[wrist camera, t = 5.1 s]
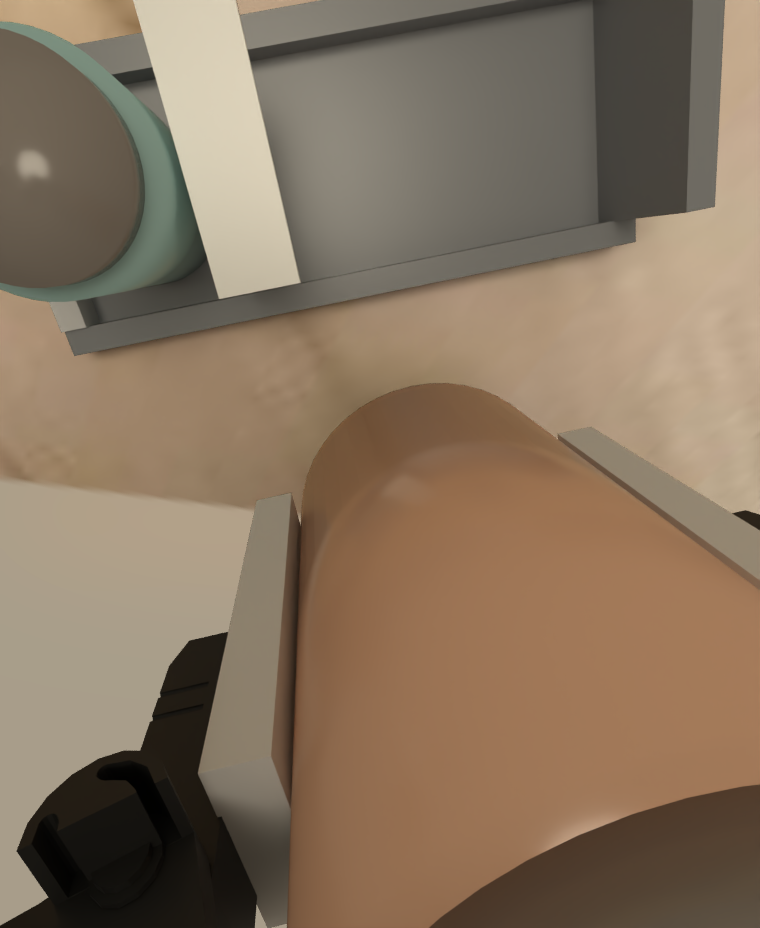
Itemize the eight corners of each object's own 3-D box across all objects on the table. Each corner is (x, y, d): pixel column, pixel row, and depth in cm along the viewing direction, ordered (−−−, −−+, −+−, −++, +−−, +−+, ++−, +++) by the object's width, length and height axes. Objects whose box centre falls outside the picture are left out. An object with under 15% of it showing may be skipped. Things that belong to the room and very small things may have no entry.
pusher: (248, 285, 23) (219, 299, 16) (193, 78, 20) (127, -20, 13) (304, 274, 23) (300, 282, 16) (257, 66, 20) (227, -37, 13)
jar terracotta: (332, 640, 13) (382, 1484, 4) (271, 416, 11) (89, 1180, 2) (562, 587, 14) (1080, 1272, 4) (547, 357, 11) (1534, 784, 2)
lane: (91, 348, 24) (13, 381, 17) (-13, 81, 20) (-158, 4, 14) (613, 242, 25) (713, 238, 18) (609, -32, 21) (732, -152, 15)
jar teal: (96, 297, 22) (-59, 327, 13) (34, 134, 20) (-204, 29, 11) (237, 269, 23) (185, 279, 13) (193, 104, 20) (92, -23, 11)
